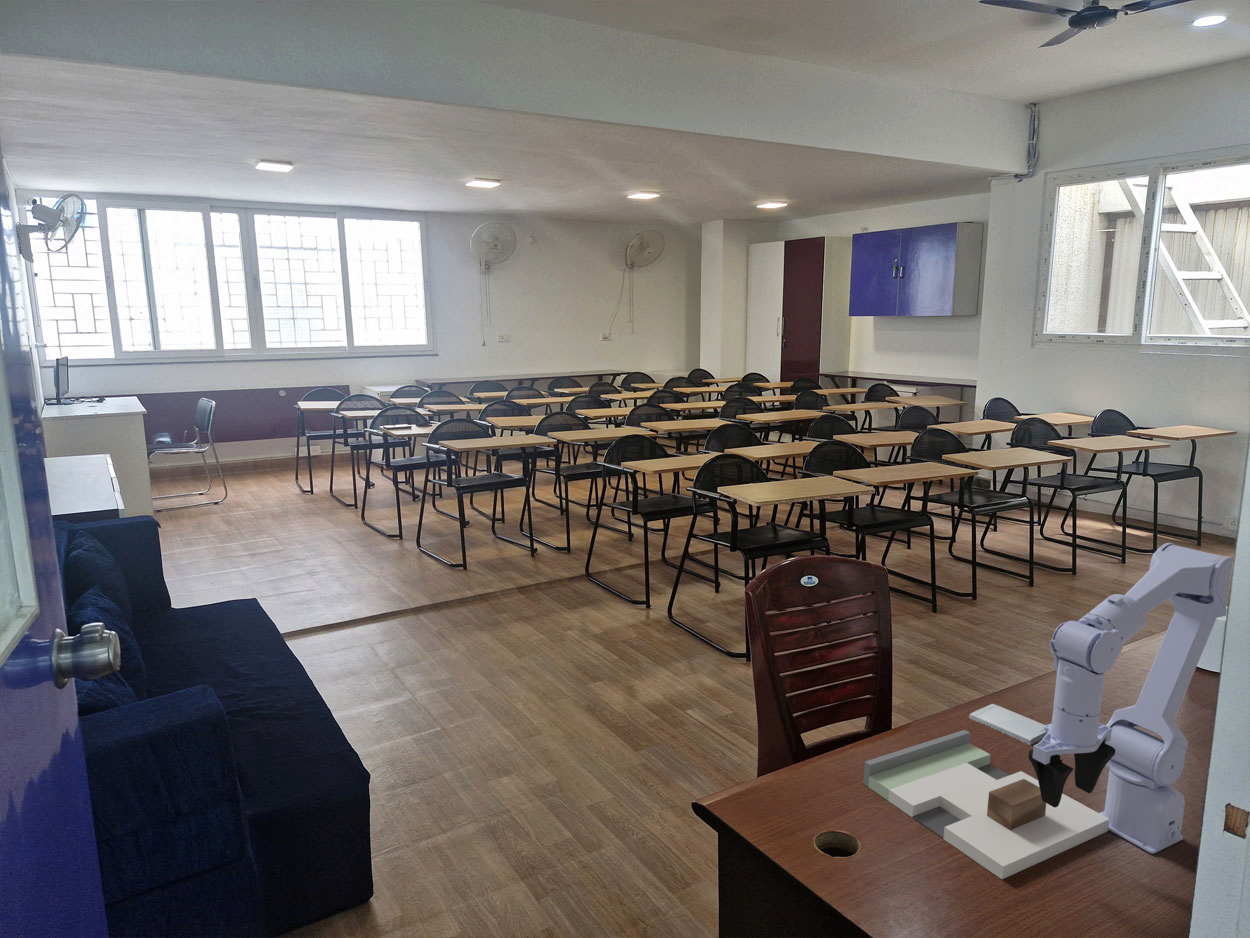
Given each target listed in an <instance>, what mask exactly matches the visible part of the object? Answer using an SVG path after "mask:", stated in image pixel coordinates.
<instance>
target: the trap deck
mask: <svg viewBox="0 0 1250 938" xmlns="http://www.w3.org/2000/svg"><path fill="white" fill-rule="evenodd" d="M970 739H971V731H968V730H967V729H963V730H960V731H956V732H952V733H950V734H947V735H944V736H940V737H938V738H935V739H931V740H928V741H924V742H922V743H919V744H914V745H913V746H909V747H905V748H903V749H900V750H899V749H898V750H897V751H893V752H890V753H888V754H884V755H881V756H877V757H874V758H872V759H869V760H865V761H864V766H863V767H864V768H863V780H862V781H863V783H862V784H863V785H865V786H866V787H868V788H869V789H870V790H872V791H873V792H875V793H876V794H877V795H879V796H880V797H882V798H883V799H885V800H886V801H888V802H889V803H890V804H892V805H894V806H895V807H897V808H898V809H899V810H901V811H902V812H903V813H905V814H906V815H908V816H909V817H911V818H912V819H914V820H915V821H917V822H918V823H920V824H921V825H922V826H924V827H926V828H927V829H928V830H929V831H932V832H933V833H934V834H935V835H937V836H938V837H940V838H941V839H943V840H944V841H946V842H947V843H948V844H950V845H951V846H953V847H955V848H956V849H957V850H959V851H960V852H962V853H963V854H965V855H966V856H968V857H969V858H970V859H971V860H974V861H975V863H977V864H978V865H980V866H982V867H983V868H984V869H986V870H988V871H989V872H991V873H992V874H994V875H995V876H996V877H997V878H999V879H1001V880H1004V879H1006V878H1008V877H1010V876H1013V875H1015V874H1017V873H1019V872H1022V871H1024V870H1026V869H1028V868H1031V867H1032V866H1035V865H1037V864H1039V863H1042V862H1044V861H1047V860H1048V859H1050V858H1052V857H1055V856H1057V855H1058V854H1062V853H1063V852H1066V851H1067V850H1068V851H1069V849H1072V848H1075V847H1076V846H1078V845H1081V844H1083V843H1084V842H1085V843H1086V842H1088V841H1089V840H1092V839H1094V838H1096V837H1098V836H1101V835H1102V834H1105V833H1107V832H1109V830H1108V828H1109V820H1110V819H1108V818H1107V817H1105V816H1103V815H1101V814H1099V813H1100V812H1098V811H1096V810H1094V809H1093V808H1090V807H1088V806H1087V805H1084V804H1083V803H1081V802H1078V801H1077V800H1075V799H1074V798H1072V797H1070V796H1068V795H1066V794H1064V793H1062V797H1061V801H1060V803H1059V805H1058V807H1052V806H1051V805H1049V804H1047V803H1046V811H1045V816H1043V817H1041V818H1038V819H1036V820H1034V821H1031V822H1029V823H1027V824H1024V825H1022V826H1019V827H1017V828H1015V829H1012V830H1009V829H1007V828H1005V827H1004V826H1002V825H1001V824H999V823H997V822H996V821H994V820H993V819H991V818H989V817H988V816H987V809H988V798H989V792H990V791H993V790H995V789H998V788H1001V787H1003V786H1006V785H1009V784H1011V783H1014V782H1017V781H1019V780H1022V779H1025V780H1027V781H1029V782H1031V783H1033V784H1034V785H1036V786H1038V787H1039V782H1038V778H1035V777H1033V776H1031V775H1029V774H1027V772H1023V771H1022V770H1020V771H1018V772H1014V773H1012V774H1009V773H1006V771H1005V772H1004V771H1003V770H1001V769H999V768H998V767H996V766H994V765H993V764H991V763H990V762H991V754H990V753H988V752H987V751H985V750H983V749H981V748H979V747H978V746H976V745H974V744H972V743H970Z"/></svg>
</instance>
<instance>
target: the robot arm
mask: <svg viewBox="0 0 1250 938" xmlns="http://www.w3.org/2000/svg"><path fill="white" fill-rule="evenodd" d="M1233 558H1234V556H1233V557H1232V556H1229V555H1228V556H1223V555H1220V554H1215V553H1211V552H1207V551H1206V552H1205V551H1203V550H1202V551H1201V550H1197V549H1194V548H1189V547H1184V546H1180V545H1177V544H1175V543H1173V542H1166V543H1164V544H1161V546H1160V547H1158V549H1156V551H1154V553H1153V554H1152V556H1151V559H1150V562H1149V563H1150V564H1149V570H1148V571H1147V572H1146V573H1145V574H1143V576H1142V577H1141V578H1140V579H1139V580H1138V581H1137V582H1136V583H1135V584H1134V585H1133V586H1132V587H1131V588H1130V589H1129V590H1128V591H1126V593H1125V594H1119V593H1114V594H1111V595H1109V596H1108V597H1106V598H1105V599H1104V600H1103V601H1101V602H1100V603H1099V604H1098V605H1096V606H1095V607H1094V608H1093V609H1091V610H1090V611H1088V612H1087V613H1086V614H1085V615H1083V616H1082V617H1081V618H1079V620H1077V621H1076V620H1073V619H1072V620H1068V621H1064V622H1062V623H1059V624H1058V626H1057V627H1056V628H1055V630H1054V631H1053V634H1052V637H1051V640H1049V649H1050V653H1051V655H1052V657H1053V668H1054V670H1055V671H1056V679H1055V689H1054V697H1053V707H1052V709H1053V710H1052V718H1051V723H1048V724H1044V725H1045V726H1044V731H1046V732H1048V733H1047V734H1046V735H1045V736H1044V738H1043V739H1042V740H1039V741H1038V743H1037V744H1034V745H1033V748H1032V749H1029V750H1028V753H1027V754H1028V756H1027V757H1028V759H1029V761H1030V763H1031V765H1032V767H1033V769H1034V772H1035V774H1036V776H1037V777H1036V779H1037V780H1038V782H1039V787H1040V792H1041V798H1042V801H1044V802H1045V803H1047V804H1049V805H1051V806H1052V807H1058V805H1059V803H1060V801H1061V797H1062V794H1063V792H1064V787H1065V785H1066V783H1067V779H1068V778H1069V776H1070V775H1071V773H1072V772H1073V771H1074V784H1075V787H1076V788H1078V789H1080V790H1082V791H1083V792H1086V793H1087V794H1092V793H1093V791H1094V789H1095V787H1096V785H1097V783H1098V781H1099V778H1100V776H1101V773H1102V772H1103V770H1104V768H1105V767H1108V768H1109V770H1108V771H1109V772H1108V779H1107V787H1106V795H1105V804H1104V810H1103V811H1100V812H1098V813H1099V814H1101V815H1103V816H1105V817H1107V818H1108V819H1110V820H1109V828H1108V831H1110V832H1111V833H1114V834H1115V835H1117V836H1119V837H1121V838H1122V839H1125V840H1126V841H1128V842H1130V843H1132V844H1133V845H1135V846H1137V847H1138V848H1140V849H1143V850H1144V851H1145V852H1147V853H1149V854H1153V855H1154V854H1156V853H1158V852H1160V851H1162V850H1164V849H1166V848H1168V847H1170V846H1172V845H1174V844H1177V843H1178V842H1180V841H1182V840H1183V839H1184V836H1183V835H1182V828H1183V822H1184V821H1183V820H1184V813H1185V807H1186V803H1185V802H1186V801H1185V797H1184V794H1183V793H1182V792H1180V791H1178V790H1177V789H1175V788H1174V787H1173V786H1171V785H1172V784H1174V783H1175V782H1176V781H1177V780H1178V779H1179V778H1180V776H1181V774H1182V773H1183V771H1184V766H1185V758H1186V757H1185V756H1186V752H1187V750H1188V745H1189V742H1188V740H1187V737H1185V735H1184V733H1183V732H1182V731H1181V729H1180V728H1179V726H1178V725H1177V723H1176V721H1175V718H1176V716H1177V714H1178V711H1179V710H1180V706H1181V704H1182V702H1183V700H1184V697H1185V695H1186V692H1187V690H1188V687H1189V685H1190V683H1191V680H1192V678H1193V676H1194V674H1195V671H1196V668H1197V667H1198V664H1199V661H1200V660H1201V656H1202V655H1203V652H1204V650H1205V646H1206V645H1207V643H1208V640H1209V638H1210V635H1211V633H1212V630H1213V629H1214V625H1215V624H1216V621H1217V618H1221V617H1227V616H1226V605H1227V602H1228V594H1229V585H1230V576H1231V570H1232V562H1233ZM1166 601H1168V602H1170V603H1171V604H1172V606H1173V610H1174V612H1173V615H1172V617H1171V620H1170V622H1169V625H1168V627H1167V630H1166V632H1165V634H1164V637H1163V639H1162V641H1161V644H1160V646H1159V649H1158V650H1157V653H1156V656H1155V658H1154V660H1153V663H1152V665H1151V668H1150V670H1149V672H1148V674H1147V677H1146V680H1145V682H1144V685H1143V687H1142V689H1141V692H1140V693H1139V696H1138V698H1137V700H1136V703H1135V704H1134V705H1132V706H1131V705H1130V706H1127V707H1124V708H1118V709H1116V710H1114V712H1113V714H1112V715H1111V718H1110V719H1109V721H1108V722H1107V723H1106V724H1103V723H1101V722H1100V719H1101V711H1102V703H1103V693H1104V687H1105V677H1106V673H1107V671H1109V670H1111V669H1112V667H1113V666H1114V664H1115V663H1116V661H1117V658H1118V656H1119V655H1120V653H1121V652H1122V650H1123V645H1124V644H1125V643H1127V642H1128V641H1129V640H1130V639H1132V638H1133V637H1134V636H1135V635H1136V634H1138V633H1139V632H1141V630H1142V629H1143V628H1144V627H1145V626H1146V625H1147V615H1146V614H1148V613H1149V612H1150V611H1153V610H1154V609H1155V608H1157V607H1159V606H1160V605H1162V604H1163V603H1165V602H1166ZM1137 727H1139V728H1143V729H1144V730H1147V731H1150V732H1152V733H1154V734H1155V735H1158V736H1159V737H1161V738H1162V739H1161V738H1158V737H1156V736H1154V735H1152V734H1150V733H1147V732H1145V731H1143V730H1140V729H1138V728H1137ZM1071 754H1073V757H1074V768H1073V767H1071V766H1070V765H1068V764H1065V763H1064V762H1063V759H1061V756H1063V755H1071Z"/></svg>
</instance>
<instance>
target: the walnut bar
mask: <svg viewBox="0 0 1250 938" xmlns="http://www.w3.org/2000/svg"><path fill="white" fill-rule="evenodd" d="M1045 811H1046V803H1045V802H1044V801H1042V798H1041V792H1040V787H1038V786H1036V785H1034V784H1033V783H1031V782H1029V781H1027V780H1025V779H1022V780H1019V781H1017V782H1014V783H1011V784H1009V785H1006V786H1003V787H1001V788H998V789H995V790H993V791H990V792H989V798H988V809H987V816H988V817H989V818H991V819H993V820H994V821H996V822H997V823H999V824H1001V825H1002V826H1004V827H1005V828H1007V829H1009V830H1012V829H1015V828H1017V827H1019V826H1022V825H1024V824H1027V823H1029V822H1031V821H1034V820H1036V819H1038V818H1041V817H1043V816H1045Z"/></svg>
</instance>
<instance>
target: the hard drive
mask: <svg viewBox="0 0 1250 938" xmlns="http://www.w3.org/2000/svg"><path fill="white" fill-rule="evenodd" d="M968 719H970V720H973V721H974V722H977V723H979V722H980V723H979V724H981V723H982V724H981V725H983V724H985V725H984V726H986V725H988V726H990V727H991V729H992V728H994V729H993V730H995V729H996V730H995V731H997V730H998V731H997V732H999V731H1001V732H1002V734H1004V733H1005V734H1004V735H1006V734H1007V735H1006V736H1008V735H1009V736H1008V737H1010V736H1011V737H1010V738H1013V737H1014V738H1013V739H1015V738H1016V739H1015V740H1017V739H1019V740H1020V742H1022V743H1024V742H1025V743H1024V744H1026V743H1027V745H1029V746H1032V745H1033V744H1035V743H1037V742H1040V741H1041V739H1043V738H1044V736H1045V735H1046V734H1047V733H1048V732H1046V731H1044V726H1045V725H1046V724H1043V723H1041V722H1038V721H1036V720H1034V719H1032V718H1030V717H1027V716H1024V715H1022V714H1019V713H1017V712H1014V711H1012V710H1009V709H1007V708H1005V707H1002V706H1000V705H998V704H996V703H995V704H994V703H991V704H988V705H987V706H984V707H981V708H979V709H977V710H975V711H973V712H971V713H970V714H969V716H968ZM988 726H987V727H988ZM990 727H989V728H990ZM1001 732H1000V733H1001ZM1019 740H1018V741H1019Z"/></svg>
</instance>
